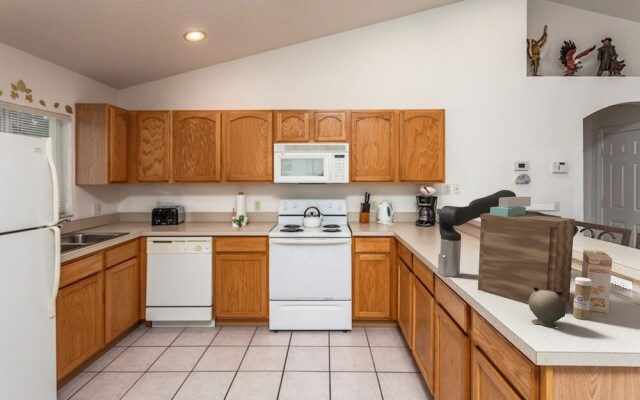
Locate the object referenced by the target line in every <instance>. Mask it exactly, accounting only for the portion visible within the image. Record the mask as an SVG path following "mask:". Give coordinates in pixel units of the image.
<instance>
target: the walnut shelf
mask: <svg viewBox="0 0 640 400" xmlns="http://www.w3.org/2000/svg"><path fill="white" fill-rule="evenodd" d="M548 216H549V215H547V216H537V215H526V214H525V215H516V216H508V217H507V216H497V215H490V213H486V214H480V217H479V218H480V231H479V234H480V235H479V253H478V254H479V255H478V257H479V258H478V259H479V260H478V275H477V277H478V278H477V279H478V280H477V290H479V291H481V290H482V292H483V291H484V292H485V293H487V294H491V295H495V296H498V297H501V298H503V299H504V298H505V299H509V300H512V301H515V302H519V303H522V304H524V305H525V304H526V305H529V303H528V302H529V298H530V296H531V294H532V293H533V292H534V291H535V290H534V289H533V287H536V288H538V290H550V291H553V292H562V295H561V296H562V297H563V298H564V300H565V302H566V305H567V304H569V303H570V295H571V293H570V292H571V282H572V281H571V279H572V267H573V266H572V263H573V262H572V261H573V246H574V238H573V234H574V225H576V222H575V221H576V219H575V218H570V217H569V218H568V217H559V216H557V217H556V216H549V217H548Z"/></svg>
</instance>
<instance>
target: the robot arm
mask: <svg viewBox="0 0 640 400" xmlns="http://www.w3.org/2000/svg"><path fill="white" fill-rule="evenodd" d="M503 197H517V194H516V193H515V192H514V191H512V190H510V189H500V190H498V191H496V192H494V193H492V194H490V195H485V196H483V197H479V198H475V199H473V200H472V201H470V202H469V204H468V205H467V206H454V205H444V206H443V207H441V209H440V211H439V214H438V215H439V218H438V219H439V220H438V222H439V231H438V232H439V235H440V248H439V249H440V253H438V258H437V259H438V260H437V266H438V267H437V273H438V274H440V275H441V276H443V277H453V278H454V277H456V278H457V277H460V275H461V253H462V252H461V251H462V234H461V233H460V232H458V231H457V230H456V229H455V228H454V227H460V226H463V225H465V224H466V223H469V222H470V221H473V220H475V219H479V218H480V214H486V213H490V207H499V198H503ZM526 215H537V216H548V217H550V216H549V215H547V214H545V213H542V212H541V211H535V210H528V211H527V210H526ZM578 232H579V228H578V225H576V224H574V234H573V239H574V238H575V236H576V235H577V234H578Z"/></svg>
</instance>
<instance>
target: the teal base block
mask: <svg viewBox="0 0 640 400" xmlns="http://www.w3.org/2000/svg"><path fill="white" fill-rule="evenodd" d="M526 211H527V206H526V207H515V208H499V207H490V215H497V216H507V217H508V216H516V215H525V214H526Z"/></svg>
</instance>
